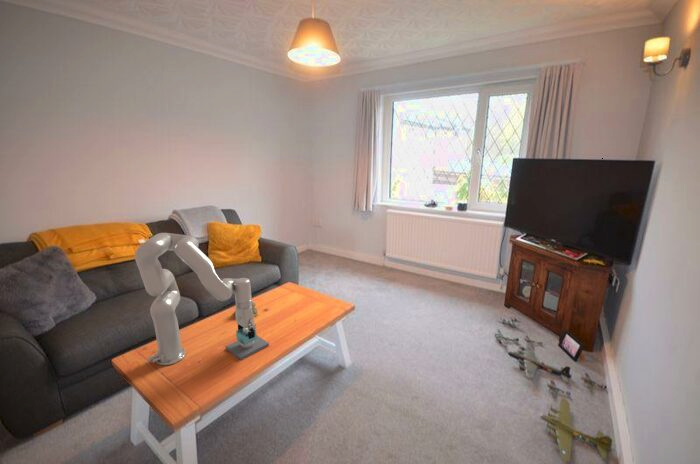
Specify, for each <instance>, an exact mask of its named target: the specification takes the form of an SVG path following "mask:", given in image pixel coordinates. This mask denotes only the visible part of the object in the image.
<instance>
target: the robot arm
mask: <svg viewBox="0 0 700 464" xmlns="http://www.w3.org/2000/svg"><path fill="white" fill-rule="evenodd" d="M199 245H200V244H199V241H198V239H197V238H196V237H194V236H192V235H187V234H182V233H181V234H180V233H172V232H171V233H170V232H159V233H156V234H155V235H153V236H152V237H150V238H149V239H147V240H146V241H144V242H142V243H141V244H140V245H139V246H138V247H137V249H136V251H135V254H134V259H135V263H136V266H137V268H138V271H139V274H140V277H141V280H142V282H143V285H144V288H145V291H146V293H147V294H148V295H149V296H151V297H156V298H155V299H154V300H153V302H152V303H151V306H150V309H149V311H150V316H151V318H152V321H153V326H154V332H155V338H156V344H157V351H156V353H155V354H154V355H152V356H151V355H150V356H149V357H147V359H146V360H147V362H149V363H150V362H152V363H156V364H157V365H159V366H170V365H174V364H176V363H179V362H180V361H182V360H183V359H184V358H185V356H186V355H187V351H186V349H185V348H183V347H182V341H181V336H180V335H181V334H180V328H179V321H178V317H177V315H176V308H177V306H178V305H179V303H180V301H181V294H180V290H179V287H178V284H177V281H176V277H175V275H174V274H173V272H172V271H170V270H169V269H166V268H162V264H161V262H160V260H159V259H158V258H159V257H160V256H163V254H164V253H166V252H167V251H173V252H174V253H175V254H176V256H177V257H178V258H180V260H181V261H182V262H183V263H184V264H185V265H186V266H188V267H189V268H190V269H191V270H192V271H193V272H194V273H195V274H196V276H197V277H198V279H199V280H200V282H201V284H202V286H203V287H204V288H205V290H207V291H208V293H209V294H211V295H212V297H214V298H215V299H217V300H218V301H220V302H221V301H222V302H226V301H228V300H230V299H231V298H232V296H233V294H234V300H235V308H234V309H235V311H234V312H235V314H234V316H235V315H236V316H235V322H236V324H237V330H239V329H241V328H243V327H244V328H248V331H249V332H248V338H249V339H251V338H254V337H255V331H254V330H256V327H257V324H256V323H255V319H254V318H255V317H253V310H252V301H253V300H252V289H251V288H252V287H251V281H250V279H249V278H247V277H239V278H231V277H230V278H229V277H227V278H226V277H225V278H222V279H220V278H219V276H218V274H217V272H216V270H215V267H214V263H213V261H212V260H211V259H210V258H209V257H208V256H207V255H206V254H205V253H204V252H203V251H202V250H201V249H200V248H199ZM249 327H252V328H251V329H250V328H249Z"/></svg>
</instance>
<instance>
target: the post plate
mask: <svg viewBox="0 0 700 464" xmlns="http://www.w3.org/2000/svg"><path fill="white" fill-rule="evenodd" d="M247 332H249V331H248V328H243V333H244V334H245V333H247ZM256 336H257V339H256V340H254V341H251V342H249V343H247V344H245V345H244V344H242V343H241V342H239V341H238V340H236V341H233V342H232V343H229V344H227V345H225V350H227V351H228V352H229V353H230V354H232V355H233V356H234V357H236V358H237V359H238V360H239V361H242V360H245V358H248V357H250V356H251V355H254V354H256V353H258V352H260V351H261V350H264V349H265V348H267V347H270V343H269V342H268V341H266V340H265V339H264V338H262V337H260V336H259V335H257V334H256Z"/></svg>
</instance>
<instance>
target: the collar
mask: <svg viewBox="0 0 700 464" xmlns="http://www.w3.org/2000/svg"><path fill="white" fill-rule="evenodd" d="M243 328H244V327H243ZM243 328H241V329H239V330H238V329H237V330H236V331H235V332H236V341H239V342H241V343H242V344H244V345H245V344H247V343H249V342H251V341H254V340H256V339H257V336H258V335H257V329H255V330H254V331H255V337H254V338H251V339H249V338H248V332H247V333H245V334H244V333H243ZM249 328H250V329H251V328H252V327H251V326H250V327H249ZM256 335H257V336H256Z"/></svg>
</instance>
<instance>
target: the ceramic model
mask: <svg viewBox="0 0 700 464" xmlns="http://www.w3.org/2000/svg"><path fill="white" fill-rule="evenodd" d="M256 305H257V304H256V302H255V301H253V300H252V310H253V317H254V318H255V317H257V316H258V309H257V308H256ZM233 314H234V317H236V315H235V311H234V313H233Z"/></svg>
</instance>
